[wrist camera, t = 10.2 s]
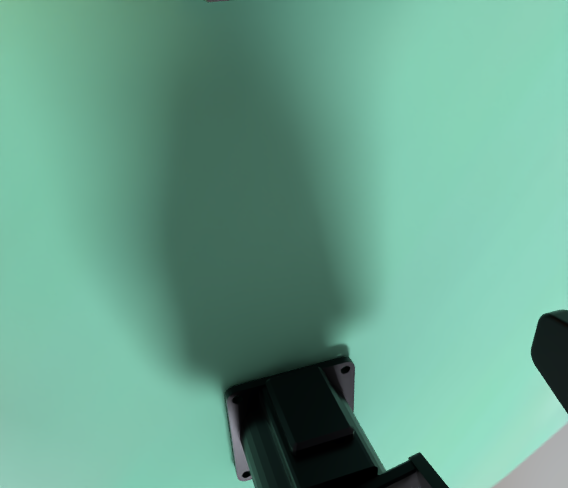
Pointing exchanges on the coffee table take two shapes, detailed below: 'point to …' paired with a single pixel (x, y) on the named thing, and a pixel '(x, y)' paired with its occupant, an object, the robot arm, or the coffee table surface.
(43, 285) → the coffee table surface
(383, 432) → the coffee table surface
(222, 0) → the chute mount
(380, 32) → the coffee table surface
